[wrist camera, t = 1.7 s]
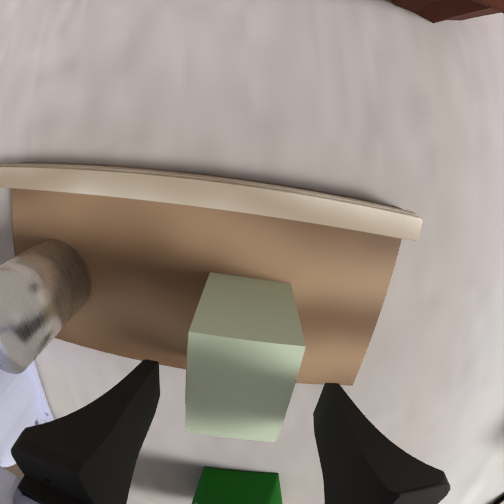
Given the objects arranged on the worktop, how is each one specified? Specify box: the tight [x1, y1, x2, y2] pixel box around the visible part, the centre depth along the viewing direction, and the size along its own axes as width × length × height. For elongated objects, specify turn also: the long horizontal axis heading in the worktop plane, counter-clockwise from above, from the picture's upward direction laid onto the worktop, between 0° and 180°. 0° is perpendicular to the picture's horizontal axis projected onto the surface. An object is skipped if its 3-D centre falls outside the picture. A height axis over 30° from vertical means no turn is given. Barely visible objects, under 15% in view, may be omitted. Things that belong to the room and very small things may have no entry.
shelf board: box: [0, 163, 423, 385], centre depth 17 cm, size 12×24×3 cm, turn 82°
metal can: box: [0, 239, 91, 374], centre depth 14 cm, size 5×5×7 cm
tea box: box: [185, 272, 306, 442], centre depth 15 cm, size 4×6×6 cm
